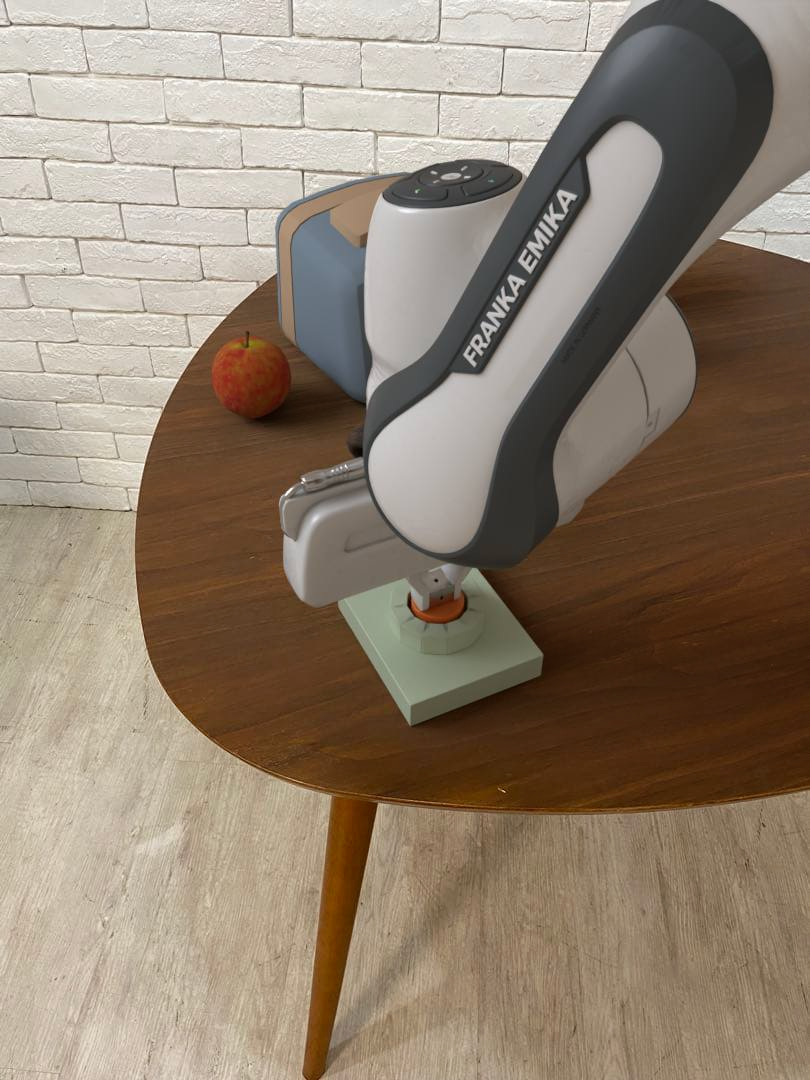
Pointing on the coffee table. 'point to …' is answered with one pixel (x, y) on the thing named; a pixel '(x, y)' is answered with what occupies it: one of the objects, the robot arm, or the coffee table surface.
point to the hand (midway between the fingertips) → (435, 599)
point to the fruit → (251, 376)
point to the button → (440, 612)
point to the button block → (441, 647)
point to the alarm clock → (329, 278)
